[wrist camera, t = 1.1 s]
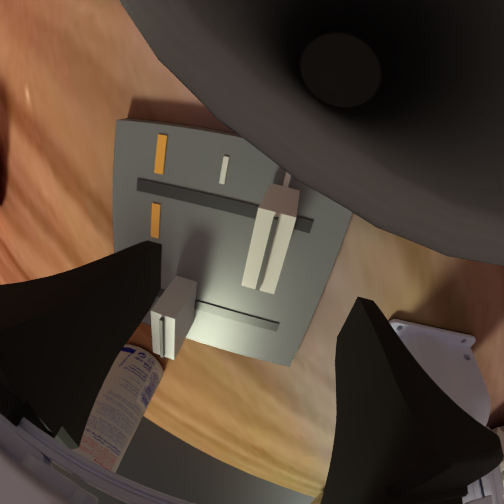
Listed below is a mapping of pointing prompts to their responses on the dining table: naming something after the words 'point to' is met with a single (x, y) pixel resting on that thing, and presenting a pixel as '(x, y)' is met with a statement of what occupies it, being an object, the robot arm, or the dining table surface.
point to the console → (218, 238)
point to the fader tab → (271, 238)
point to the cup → (359, 102)
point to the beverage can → (120, 406)
